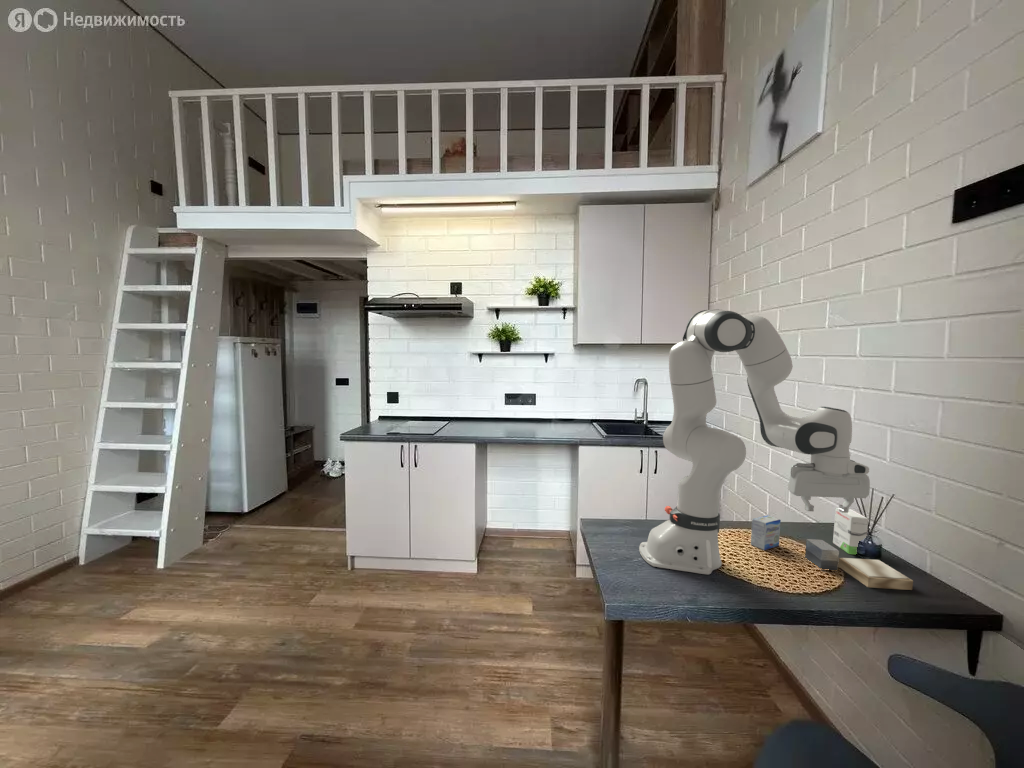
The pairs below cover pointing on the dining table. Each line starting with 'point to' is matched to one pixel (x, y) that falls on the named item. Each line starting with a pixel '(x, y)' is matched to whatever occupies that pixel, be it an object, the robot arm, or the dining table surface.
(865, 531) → the ink box
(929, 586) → the dining table surface
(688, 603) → the dining table surface
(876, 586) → the plinth
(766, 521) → the medicine box
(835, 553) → the housing
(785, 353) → the robot arm
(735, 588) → the dining table surface
